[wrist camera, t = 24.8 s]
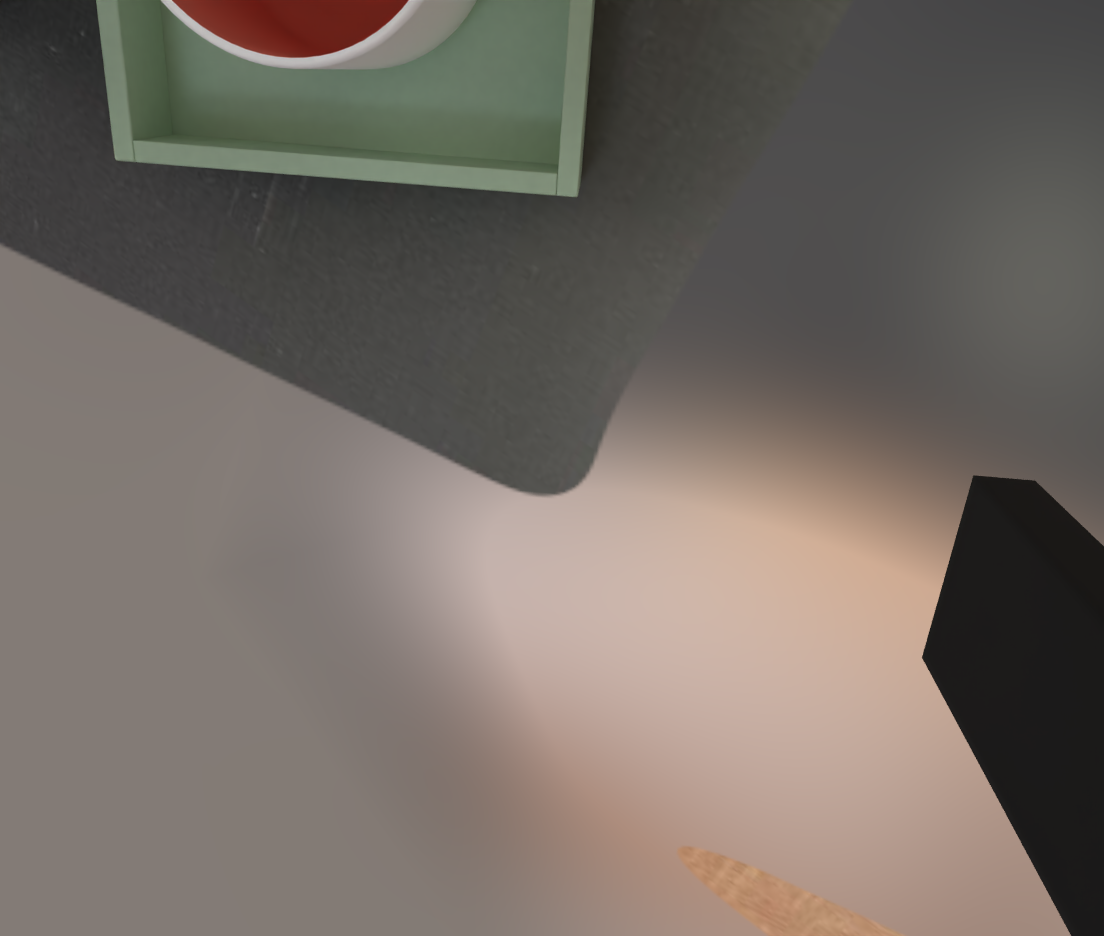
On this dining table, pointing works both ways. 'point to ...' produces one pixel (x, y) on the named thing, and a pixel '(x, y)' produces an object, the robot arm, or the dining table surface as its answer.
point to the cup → (324, 30)
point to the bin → (362, 102)
